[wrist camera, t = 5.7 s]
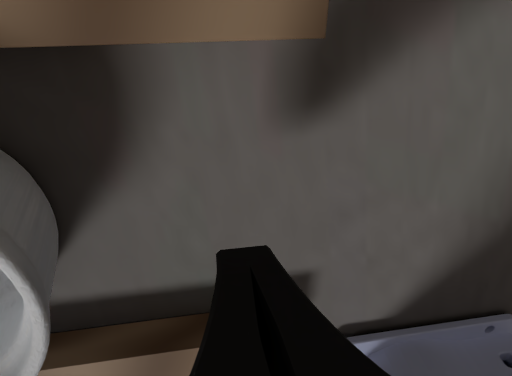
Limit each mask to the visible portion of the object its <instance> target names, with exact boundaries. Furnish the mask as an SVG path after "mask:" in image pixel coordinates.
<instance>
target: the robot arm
mask: <svg viewBox="0 0 512 376" xmlns="http://www.w3.org/2000/svg"><path fill="white" fill-rule="evenodd" d="M216 262H217V275H216V283H215V290H214V295H213V300H212V304H211V309H210V313H209V317H208V321H207V324H206V328H205V331H204V335H203V338H202V341H201V344H200V347H199V350H198V353H197V356H196V359H195V362H194V365H193V367H192V370H191V372H190V375H189V376H512V315H511V314H501V315H494V316H487V317H481V318H474V319H467V320H460V321H454V322H447V323H440V324H434V325H427V326H420V327H413V328H407V329H400V330H393V331H386V332H380V333H373V334H366V335H359V336H353V337H345V336H344V335H343V334H342V333H341V332H340V331H339V330H338V329H337V328H336V327H334V325H333V324H332V323H331V322H330V321H329V320H328V319H327V318H326V317H325V316H324V315H323V314H322V313H321V312H320V311H319V310H318V309H317V308H316V307H315V305H314V304H313V303H312V302H311V301H310V300H309V299H308V297H307V296H306V295H305V294H304V293H303V292H302V290H301V289H300V288H299V287H298V286H297V285H296V283H295V282H294V281H293V280H292V278H291V277H290V276H289V274H288V273H287V272H286V271H285V269H284V268H283V267H282V265H281V264H280V262H279V261H278V260H277V258H276V257H275V255H274V254H273V252H272V251H271V249H270V248H269V247H268V246H266V245H264V246H255V247H245V248H236V249H226V250H220V251H219V252H218V253H217V254H216Z"/></svg>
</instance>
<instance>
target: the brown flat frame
mask: <svg viewBox="0 0 512 376" xmlns="http://www.w3.org/2000/svg"><path fill="white" fill-rule="evenodd" d="M328 4H329V0H0V48H14V47H48V46H82V45H115V44H149V43H182V42H216V41H249V40H283V39H316V38H325V35H326V25H327V14H328ZM208 317H209V313H204V314H196V315H189V316H181V317H173V318H166V319H158V320H151V321H143V322H135V323H128V324H120V325H113V326H105V327H97V328H90V329H82V330H75V331H67V332H59V333H52V334H50V342H49V346H48V351H47V354H46V358H45V360H44V363H43V365H42V367H41V369H40V371H39V373H38V375H37V376H189V375H190V372H191V370H192V367H193V365H194V362H195V359H196V356H197V353H198V350H199V347H200V344H201V341H202V338H203V335H204V331H205V328H206V324H207V321H208Z"/></svg>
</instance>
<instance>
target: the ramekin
mask: <svg viewBox="0 0 512 376" xmlns="http://www.w3.org/2000/svg"><path fill="white" fill-rule="evenodd" d="M57 257H58V228H57V224H56V219H55V216H54V213H53V210H52V208H51V205H50V203H49V201H48V200H47V198H46V196H45V195H44V193H43V191H42V190H41V188H40V187H39V186H38V184H37V183H36V182H35V180H34V179H33V178H32V176H31V175H30V173H29V172H27V171H26V170H25V169H24V168H23V167H22V166H21V165H20V164H19V163H18V162H17V161H16V160H14V159H13V158H12V157H11V156H9V155H8V154H6V153H5V152H3V151H2V150H0V376H37V375H38V373H39V371H40V369H41V367H42V365H43V363H44V360H45V358H46V354H47V351H48V346H49V342H50V308H49V303H50V297H51V292H52V286H53V281H54V275H55V270H56V264H57Z"/></svg>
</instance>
